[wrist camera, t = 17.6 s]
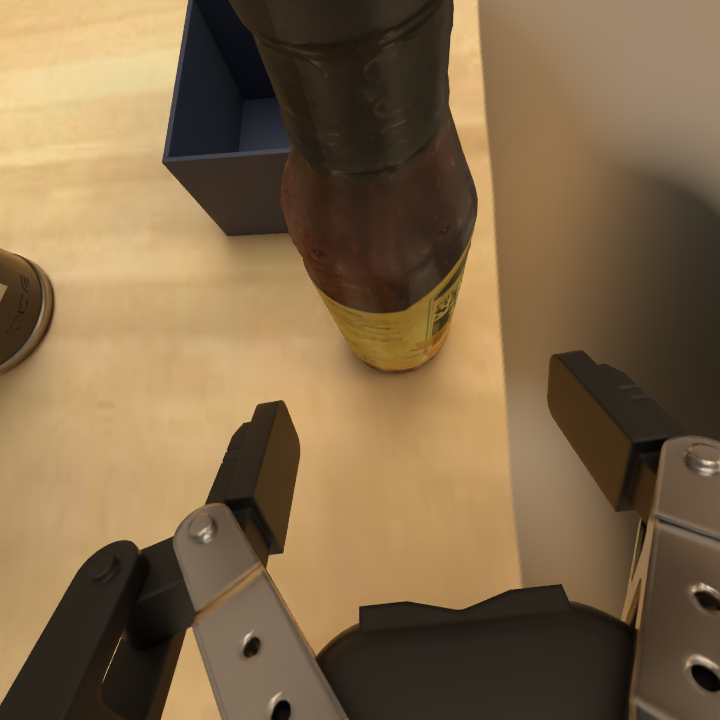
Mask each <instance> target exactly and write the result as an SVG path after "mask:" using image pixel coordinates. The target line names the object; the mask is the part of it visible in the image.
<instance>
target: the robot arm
mask: <svg viewBox="0 0 720 720" xmlns="http://www.w3.org/2000/svg"><path fill="white" fill-rule="evenodd" d="M51 309H52V291H51V287H50V283H49V280H48V278H47V276H46V275H45V273H44V272H43V270H42V269H41V268H40V267H39V266H38V265H36V264H35V263H34V262H32V261H30V260H28V259H26V258H24V257H22V256H19V255H17V254H13V253H10V252H8V251H6V250H4V249H1V248H0V373H2V372H5V371H7V370H9V369H10V368H12V367H14V366H15V365H17V364H18V363H19V362H21V361H22V360H23V359H24V358H25V357H26V356H27V355H28V354H29V353H30V352H31V351H32V350H33V349H34V347H35V346H36V345H37V343H38V342H39V340H40V339H41V337H42V335H43V333H44V331H45V329H46V327H47V324H48V322H49V318H50V314H51ZM547 401H548V406H549V410H550V413H551V415H552V417H553V419H554V420H555V422H556V423H557V425H558V426H559V428H560V429H561V430H562V432H563V434H564V435H565V437H566V438H567V440H568V441H569V443H570V444H571V446H572V447H573V449H574V450H575V452H576V453H577V455H578V456H579V457H580V459H581V461H582V462H583V464H584V465H585V467H586V468H587V470H588V471H589V472H590V474H591V476H592V477H593V478H594V480H595V482H596V483H597V485H598V486H599V488H600V489H601V491H602V492H603V493H604V495H605V496H606V498H607V500H608V501H609V502H610V504H611V505H612V507H613V509H614V510H615V512H620V511H628V510H635V511H636V513H637V514H638V515H639V517H640V518H641V520H640V524H639V527H638V533H637V539H636V544H635V550H634V557H633V562H632V568H631V574H630V580H629V586H628V591H627V597H626V601H625V605H624V609H623V613H622V618H621V620H620V619H618V618H616V617H614V616H612V615H610V614H608V613H606V612H604V611H602V610H599V609H596V608H594V607H591V606H588V605H585V604H581V603H578V602H573V601H569V600H568V598H567V596H566V593H565V591H564V589H563V587H562V584H560V585H550V586H541V587H532V588H523V589H514V590H508V591H506V592H504V593H501V594H499V595H497V596H494V597H492V598H490V599H487V600H485V601H482V602H480V603H478V604H475V605H473V606H471V607H468V608H466V609H463V610H454V609H449V608H443V607H437V606H431V605H425V604H420V603H414V602H408V601H405V602H396V603H387V604H378V605H369V606H360V607H359V623H358V624H355V625H353V626H351V627H349V628H348V629H346V630H344V631H343V632H341V633H340V634H339V635H337V636H336V637H335V638H334V639H332V640H331V641H330V642H329V643H328V644H327V645H326V646H325V647H324V648H323V649H322V650H321V651H320V653H319V654H318V655H317V656H316V654H315V653H314V651H313V649H312V647H311V646H310V644H309V642H308V641H307V639H306V637H305V636H304V634H303V632H302V630H301V629H300V627H299V625H298V624H297V622H296V620H295V618H294V617H293V615H292V613H291V611H290V610H289V608H288V606H287V604H286V603H285V601H284V599H283V597H282V596H281V594H280V592H279V591H278V589H277V587H276V585H275V584H274V582H273V580H272V578H271V577H270V575H269V573H268V571H267V570H266V566H267V562H268V557H269V555H273V554H281V553H283V551H284V545H285V539H286V534H287V528H288V522H289V516H290V511H291V505H292V499H293V493H294V488H295V482H296V476H297V470H298V465H299V459H300V443H299V438H298V435H297V432H296V430H295V427H294V425H293V422H292V420H291V417H290V415H289V412H288V409H287V407H286V405H285V403H284V401H282V400H280V401H274V402H268V403H262V404H258V405H257V406H256V409H255V412H254V414H253V417H252V420H251V422H246V423H243V424H242V426H241V427H240V428H239V429H238V430H237V431H236V432H235V434H234V435H233V436H232V438H231V441H230V443H229V446H228V448H227V452H226V453H225V456H224V458H223V463H221V466H220V468H219V471H218V473H217V476H216V478H215V481H214V483H213V486H212V488H211V491H210V493H209V496H208V498H207V501H206V503H205V505H204V506H202V507H200V508H198V509H196V510H195V511H193V512H192V513H190V514H189V515H188V516H187V517H186V518H185V519H184V520H183V521H182V522H181V524H180V525H179V526H178V528H177V530H176V532H175V534H174V536H173V537H171V538H168V539H166V540H164V541H161V542H159V543H157V544H154V545H152V546H150V547H147V548H145V549H143V550H139V548H138V547H137V546H136V545H135V544H134V543H133V542H131V541H128V540H121V541H117V542H113V543H111V544H109V545H107V546H105V547H103V548H102V549H100V550H98V551H97V552H96V553H95V554H93V555H92V556H91V557H90V558H89V559H88V560H87V561H86V562H85V563H84V564H83V565H82V566H81V568H80V569H79V570H78V572H77V573H76V575H75V577H74V579H73V580H72V582H71V584H70V585H69V587H68V589H67V591H66V592H65V594H64V596H63V598H62V599H61V601H60V603H59V605H58V606H57V608H56V610H55V611H54V613H53V615H52V617H51V618H50V620H49V622H48V624H47V625H46V627H45V629H44V631H43V632H42V634H41V636H40V638H39V639H38V641H37V643H36V644H35V646H34V648H33V650H32V651H31V653H30V655H29V657H28V658H27V660H26V662H25V664H24V665H23V667H22V669H21V670H20V672H19V674H18V676H17V677H16V679H15V681H14V683H13V684H12V686H11V688H10V690H9V691H8V693H7V695H6V696H5V698H4V700H3V702H2V703H1V705H0V720H161V716H162V713H163V709H164V706H165V703H166V699H167V696H168V692H169V689H170V685H171V682H172V678H173V675H174V672H175V668H176V665H177V661H178V658H179V654H180V651H181V647H182V644H183V640H184V637H185V634H186V630H187V628H189V627H191V626H192V628H193V632H194V635H195V638H196V641H197V644H198V648H199V651H200V654H201V657H202V660H203V663H204V666H205V669H206V672H207V675H208V678H209V681H210V685H211V688H212V691H213V694H214V697H215V700H216V703H217V706H218V709H219V712H220V715H221V719H222V720H720V442H719V441H716V440H713V439H710V438H706V437H701V436H694V435H690V434H689V433H688V432H687V431H686V430H685V429H684V428H682V426H680V425H679V424H678V423H677V422H676V421H675V420H674V419H673V418H672V417H671V416H670V415H669V414H667V413H666V412H665V411H664V410H663V409H662V408H661V407H660V406H659V405H658V404H657V403H656V402H655V401H654V400H652V399H651V398H648V395H647V394H646V393H645V392H644V391H643V390H642V389H641V388H637V385H636V384H635V383H634V382H633V381H632V380H631V379H630V378H629V377H628V376H627V375H626V374H624V373H623V372H621V371H619V370H617V369H615V368H613V367H610V366H608V365H606V364H601V365H597V364H596V363H595V362H594V361H593V360H592V359H591V358H590V357H589V356H588V355H587V354H586V353H585V352H584V351H582V350H578V351H572V352H566V353H560V354H554V355H552V356H551V358H550V363H549V379H548V394H547ZM120 637H121V640H120ZM119 640H120V642H119ZM118 642H119V645H118V647H117V644H118ZM116 647H117V650H116V652H115V649H116ZM114 652H115V654H114ZM113 654H114V657H113V659H112V656H113ZM111 659H112V662H111V664H110V661H111ZM109 664H110V667H109V669H108V671H107V668H108V666H109ZM106 671H107V674H106V676H105V673H106ZM104 676H105V679H104ZM103 679H104V681H103ZM102 682H103V683H102Z"/></svg>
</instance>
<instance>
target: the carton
mask: <svg viewBox="0 0 720 720" xmlns="http://www.w3.org/2000/svg"><path fill="white" fill-rule="evenodd" d="M280 111H281V107H280V105H279V102H278V99H277V97H276V94H275V92H274V89H273V86H272V84H271V81H270V78H269V76H268V74H267V71H266V69H265V66H264V64H263V61H262V58H261V56H260V53H259V50H258V48H257V45H256V42H255V39H254V36H253V34H252V33H251V31H250V30H249V29H248V28H247V27H246V26H245V25H244V24H243V23H242V22H241V20H240V18H239V17H238V15H237V14H236V12H235V10H234V9H233V7H232V5H231V4H230V2H229V1H228V0H188V6H187V12H186V18H185V25H184V31H183V37H182V43H181V49H180V55H179V62H178V68H177V74H176V80H175V86H174V93H173V99H172V105H171V111H170V117H169V123H168V130H167V136H166V142H165V148H164V154H163V160H162V163H163V164H164V165H165V166H166V167H167V169H168V170H169V171H170V172H171V173H172V174H173V175H174V176H175V178H176V179H177V180H178V181H179V182H180V183H181V184H182V185H183V186H184V188H185V189H186V190H187V191H188V192H189V193H190V194H191V195H192V197H193V198H194V199H195V200H196V201H197V202H198V203H199V204H200V206H201V207H202V208H203V209H204V210H205V211H206V212H207V213H208V215H209V216H210V217H211V218H212V219H213V220H214V221H215V222H216V224H217V225H218V226H219V227H220V228H221V229H222V230H223V231H224V233H226V235H227V236H232V235H252V234H273V233H289V231H288V227H287V223H286V220H285V217H284V213H283V210H282V207H281V205H280V200H281V186H282V174H283V171H284V169H285V163H286V161H287V160H288V155H289V153H290V149H291V146H292V143H291V141H290V140H289V138H288V137H287V135H286V132H285V129H284V125H283V120H282V118H281V115H280Z"/></svg>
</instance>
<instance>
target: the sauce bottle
mask: <svg viewBox="0 0 720 720" xmlns="http://www.w3.org/2000/svg"><path fill="white" fill-rule="evenodd" d="M228 1H229V2H230V4H231V5H232V7H233V9H234V10H235V12H236V14H237V15H238V17H239V18H240V20H241V22H242V23H243V24H244V25H245V26H246V27H247V28H248V29H249V30H250V31H251V33H252V34H253V36H254V39H255V42H256V45H257V48H258V50H259V53H260V56H261V58H262V61H263V64H264V66H265V69H266V71H267V74H268V76H269V78H270V81H271V84H272V86H273V89H274V92H275V94H276V97H277V99H278V102H279V105H280V107H281V111H280V115H281V118H282V120H283V125H284V129H285V132H286V135H287V137H288V138H289V140H290V141H291V143H292V146H291V149H290V153H289V155H288V160H287V161H286V163H285V169H284V171H283V174H282V186H281V200H280V205H281V207H282V210H283V213H284V217H285V220H286V223H287V227H288V231H289V234H290V235H291V237H292V240H293V243H294V244H295V246H296V247H297V249H298V251H299V253H300V254H301V256H302V257H303V261H304V265H305V268H306V270H307V272H308V275H309V276H310V278H311V280H312V282H313V283H314V285H315V287H316V289H317V290H318V292H319V294H320V296H321V297H322V299H323V301H324V302H325V304H326V306H327V307H328V309H329V311H330V313H331V315H332V316H333V318H334V320H335V322H336V323H337V325H338V327H339V329H340V330H341V332H342V334H343V335H344V337H345V339H346V340H347V342H348V344H349V345H350V347H351V348H352V350H353V351H354V352H355V354H356V355H357V356H358V357H360V358H361V359H363V360H364V362H365V363H366V364H368V365H370V366H371V367H372V368H376V369H378V370H382V371H386V372H392V373H405V372H410V371H413V370H415V369H417V368H419V367H421V366H423V365H424V364H425V363H426V362H427V361H429V360H431V359H432V358H433V357H434V356H435V354H436V353H437V352H438V351H439V349H440V348H441V346H442V345H443V343H444V341H445V339H446V337H447V334H448V331H449V327H450V323H451V319H452V315H453V311H454V308H455V304H456V299H457V296H458V292H459V289H460V285H461V282H462V276H463V273H464V268H465V263H466V260H467V255H468V251H469V248H470V246H471V239H472V235H473V231H474V226H475V222H476V217H477V205H478V199H477V193H476V188H475V185H474V181H473V179H472V176H471V173H470V170H469V167H468V164H467V162H466V159H465V156H464V153H463V150H462V147H461V144H460V141H459V137H458V134H457V131H456V127H455V124H454V121H453V118H452V114H451V111H450V108H449V104H448V103H449V92H450V90H449V78H448V64H449V50H450V35H451V31H452V27H453V11H454V5H453V0H228Z"/></svg>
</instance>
